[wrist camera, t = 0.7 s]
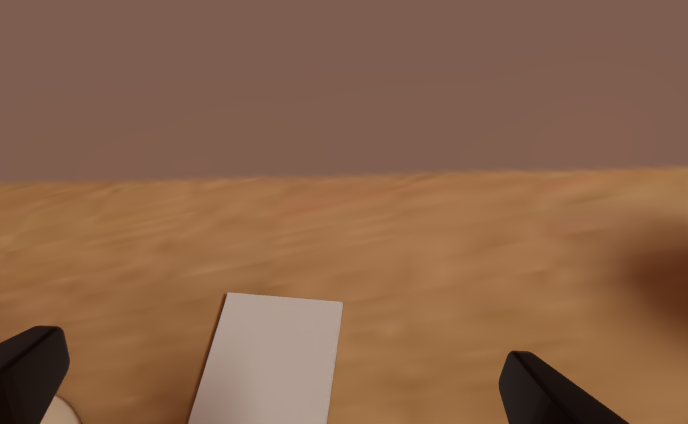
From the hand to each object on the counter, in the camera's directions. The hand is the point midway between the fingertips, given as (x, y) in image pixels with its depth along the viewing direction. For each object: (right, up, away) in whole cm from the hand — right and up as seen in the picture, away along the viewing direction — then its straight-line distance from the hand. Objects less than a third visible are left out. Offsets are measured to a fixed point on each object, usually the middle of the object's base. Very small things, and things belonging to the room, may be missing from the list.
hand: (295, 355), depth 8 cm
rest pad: (-3, -5, +13) cm, 14 cm away
